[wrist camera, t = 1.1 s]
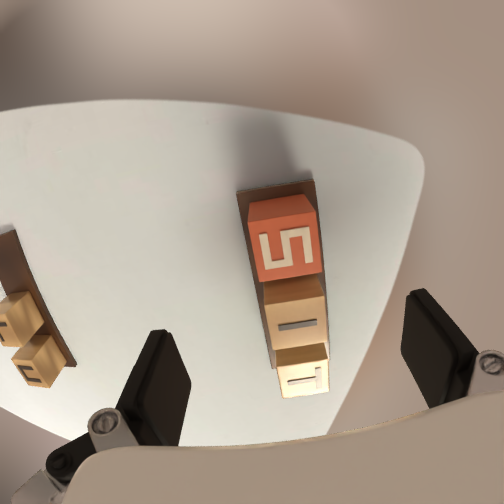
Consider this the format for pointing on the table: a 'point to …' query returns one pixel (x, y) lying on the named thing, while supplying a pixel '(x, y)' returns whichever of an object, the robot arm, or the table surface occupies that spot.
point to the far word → (28, 320)
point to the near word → (292, 307)
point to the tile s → (284, 237)
